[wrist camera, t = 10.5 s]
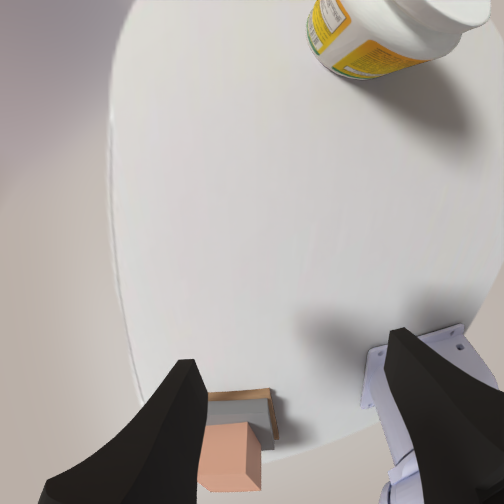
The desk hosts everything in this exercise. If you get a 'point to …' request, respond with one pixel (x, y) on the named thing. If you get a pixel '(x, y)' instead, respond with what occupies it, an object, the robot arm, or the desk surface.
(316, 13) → the supplement bottle
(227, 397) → the tower base
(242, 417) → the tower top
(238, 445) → the terracotta block
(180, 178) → the desk surface
